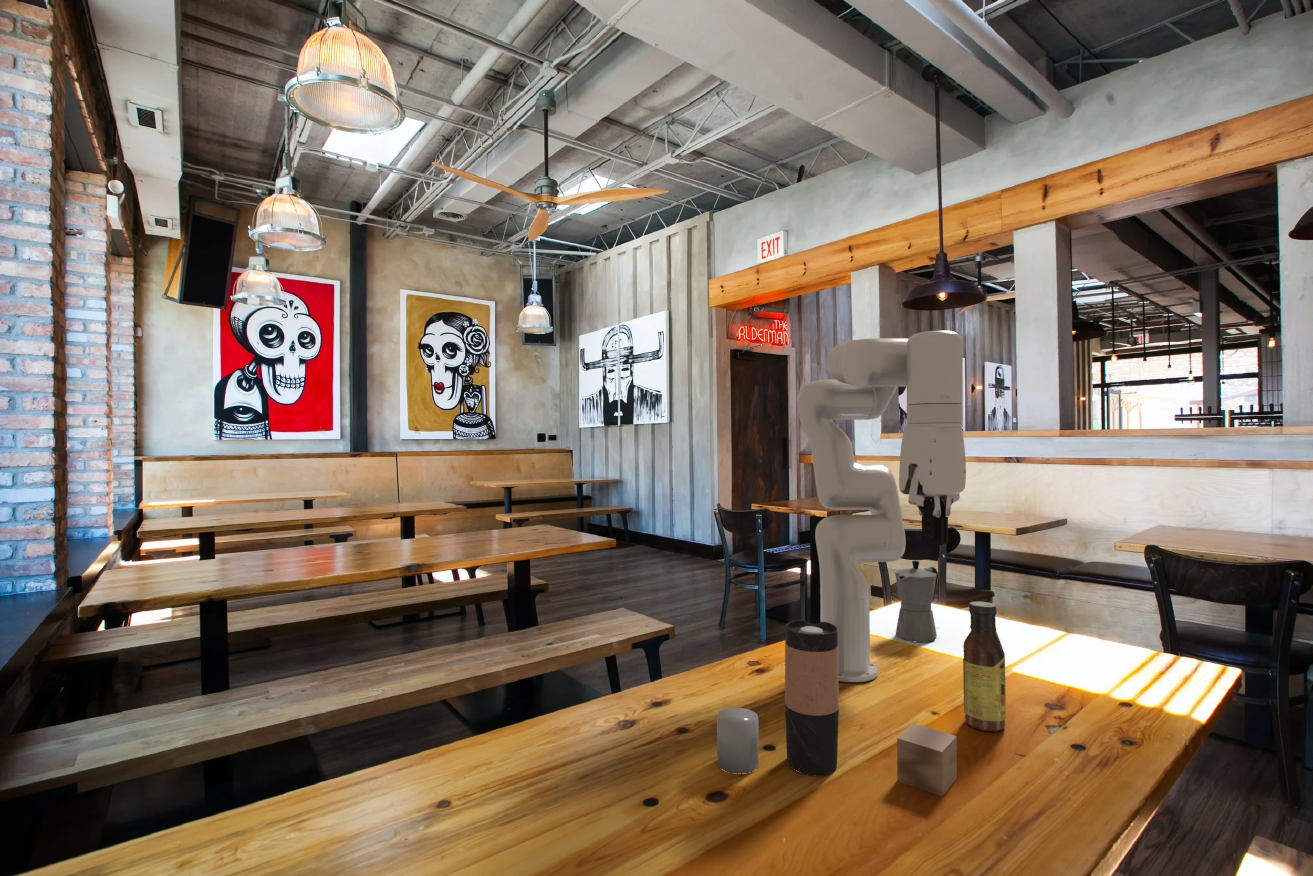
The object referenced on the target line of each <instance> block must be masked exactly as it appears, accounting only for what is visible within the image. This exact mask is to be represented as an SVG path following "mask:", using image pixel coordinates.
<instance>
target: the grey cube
mask: <svg viewBox="0 0 1313 876" xmlns="http://www.w3.org/2000/svg"><path fill="white" fill-rule="evenodd" d="M957 739H958V738H957V735H953V734H951V733H947V732H943V731H940V730H936V729H934V728H933V729H932V728H929V727H926V726H923V725H919V724H916V723H913V724H911V725H910V726H909V727H908V728H907V729H905V731H903V732H902V733H901V734H900V735H899V736H898V737H897V738H896V740H897V741H896V742H897V743H896V744H897V745H896V747H897V748H896V752H897V753H896V761H897V763H896V765H897V766H896V767H897V768H896V769H897V771H896V772H897V773H896V774H897V777H896V779H897V780H896V781H897V782H900V783H903V784H906V785H908V786H912V787H914V788H917V789H920V790H922V791H925V792H929V793H931V794H934V795H937V796H939V797H943V796H944V795H945V794H946V793H947V792H948V790H949V788H950V787H952V785H953V784H954V783H955V781H956V780H958V775H957V773H958V772H957V771H958V765H957V764H958V761H957V760H958V758H957V757H958V756H957V755H958V754H957V753H958V747H957V746H958V743H957V742H958V741H957Z"/></svg>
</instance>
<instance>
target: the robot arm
mask: <svg viewBox="0 0 1313 876" xmlns="http://www.w3.org/2000/svg"><path fill="white" fill-rule="evenodd" d="M963 347H964V346H963V338H962V337H961V335H960V334H959V333H957V332H956V331H952V330H930V331H929V330H928V331H922V332H917V333H915V334H912V335H911V336H910V337H909V338H907V337H906V338H904V337H903V338H902V337H901V338H899V337H898V338H897V337H896V338H894V337H891V338H889V337H888V338H887V337H884V338H883V337H882V338H880V337H879V338H877V337H875V338H860V339H852V340H848V341H843V342H841V343H839V344H837V345H836V346H834V348H832V349H831V350H830V351H829V353H828V356H827V358H826V359H827V360H826V369H827V370H828V373H829V374H830V376H831V377H832V378H833V379H830V378H829V379H819V380H818V379H817V380H814V381H810V382H808V383H806V384H805V385H804V386H802V388H801V389H800V392H799V393H798V401H797V402H798V405H797V407H798V417H799V421H800V423H801V424H800V425H801V426H802V429H803V432H804V435H805V436H806V440H807V441H808V444H809V447H810V451H811V457H812V464H813V473H814V480H815V487H816V493H817V494H816V495H817V498H818V500H819V503H820V504H821V506H822V507H824V508H825V509H828V510H834V511H855V510H856V511H859V510H861V511H862V510H866V511H867V510H868V511H869V512H870V513H871V514H835V515H830V516H826V517H824V518H823V519H821V520H820V521H819V522H817V525H816V527H815V532H814V533H815V544H816V551H817V557H818V563H819V564H818V565H819V584H820V587H819V588H820V589H819V590H820V591H819V593H820V622H827V623H830V624H833V625H835V626H836V627H837V630H838V682H842V683H863V682H864V683H865V682H869V681H872V680H874V679H876V678H877V677H878V675H879V669H878V667H877V665H876V664H874V663H873V662H871V661H870V660H871V659H870V658H871V654H870V653H871V652H870V651H871V649H870V647H871V646H870V645H871V644H870V643H871V642H870V639H871V638H870V635H871V634H870V632H871V631H870V630H871V629H870V622H871V621H870V618H871V617H870V610H871V609H870V607H871V606H870V585H869V582H868V580H867V578H866V577H865V576H864V574H863V573H862V571H860V569H859V568H858V566H857V565H858V564H864V563H885V562H887V563H889V562H895V561H898V560H899V559H901V558H903V555H904V553H905V550H906V544H907V543H906V541H907V539H906V532H905V525H904V520H903V514H902V508H901V503H900V502H901V501H900V497H899V491H900V492H901V494H903V495H908V500H907V501H908V503H909V504H910V505H912V506H916V507H917V508H918V513H919V516H921V542H922V543H923V544H929V545H935V546H943V545H948V544H949V517H950V515H951V510H952V505H953V504H955V503H956V502H958V501H960V497H961V496H960V494H961V493H962V492H964V490H965V489H966V482H967V464H966V449H965V448H966V447H965V440H964V434H963V433H964V432H963V427H964V418H963V417H964V403H963V402H964V398H963V397H964V394H963V393H964V391H963V390H964V389H963V388H964V386H963V385H964V384H963V383H964V382H963V381H964V376H963V374H964V371H963V370H964V369H963V368H964V367H963V362H964V360H963V359H964V357H963V356H964V355H963V352H964V351H963V350H964V349H963ZM898 387H906V426H905V427H904V430H903V433H902V438H901V445H900V455H899V456H900V457H899V470H898V471H899V472H898V486H897V481H896V478H895V477H894V475H893V473H892V471H891V470H890V469H889V468H888V467H886V466H885V465H882V464H878V463H877V464H876V463H871V464H870V463H858V462H856V459H855V456H854V449H853V443H852V441H851V440H850V439H851V438H849V437H848V435H847V434H846V433H845V432H844V431H843V429H841V427H840V426H838V425H837V424H836V423H835V422H834V421H835V420H836V421H837V420H841V421H843V420H845V421H849V420H850V421H851V420H854V421H855V420H857V421H859V420H860V421H861V420H862V421H863V420H864V421H865V420H866V421H867V420H875V419H877V418H880V417H881V416H882V415H883V414H884V412H885V411H886V409H887V408H888V405H889V403H890V402H891V400H892V399H893V396H894V394H895V393H896V391H897V389H898ZM898 489H899V490H898Z"/></svg>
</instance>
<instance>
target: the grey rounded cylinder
mask: <svg viewBox="0 0 1313 876" xmlns="http://www.w3.org/2000/svg"><path fill="white" fill-rule="evenodd" d="M716 765H717V767H718V766H719V767H718V768H719V769H720V768H721V769H723V770H725V771H727V772H729V773H728V774H730V773H737V774H738V773H741V774H742V773H749V772H752V771H754V770H755V769H757V768H759V766H758V765H759V716H758V714H757V713H756V712H755V711H753V710H751V709H748V708H744V707H743V708H742V707H728V708H723V709H721V710H720V711H719V712H717V714H716ZM721 769H720V770H721ZM723 770H722V771H723ZM757 770H758V769H757ZM727 772H726V773H727ZM754 772H755V771H754ZM752 773H753V772H752Z"/></svg>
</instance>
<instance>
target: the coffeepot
mask: <svg viewBox="0 0 1313 876" xmlns="http://www.w3.org/2000/svg"><path fill="white" fill-rule="evenodd" d="M911 563H912V567H910V568H903V569H897V570H896V572H894V576H895V582H896V589H897V596H898V600H899V601H900V607H899V612H898V618H897V624H896V630H895V636H897V637H898V638H899V639H900V640H901V639H902V640H904V641H908V642H913V641H916V642H915V643H930V642H929V641H932V642H934V641H935V639H936V640H937V636H938V635H937V629H936V625H935V619H934V612H933V610H932V603H933V601H934V600H935V595H936V589H937V583H938V581H939V572H938V570H937V569H936V567H934V566H929V567H925V568H923V569H922V568H919V565H920V561H919V560H912V561H911Z"/></svg>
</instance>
